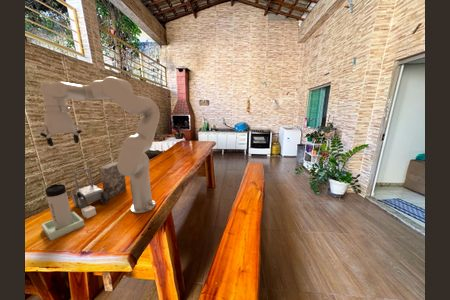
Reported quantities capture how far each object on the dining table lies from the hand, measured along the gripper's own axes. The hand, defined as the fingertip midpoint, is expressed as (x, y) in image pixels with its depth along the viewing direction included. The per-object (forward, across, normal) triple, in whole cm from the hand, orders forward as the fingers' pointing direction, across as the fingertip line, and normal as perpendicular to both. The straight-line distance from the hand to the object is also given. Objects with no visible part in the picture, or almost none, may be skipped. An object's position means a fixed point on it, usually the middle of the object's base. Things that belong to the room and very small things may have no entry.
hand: (64, 144), depth 86 cm
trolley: (+36, -6, +2) cm, 37 cm away
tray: (+36, +10, +15) cm, 41 cm away
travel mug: (+36, +10, +15) cm, 40 cm away
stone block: (+36, -20, -1) cm, 42 cm away
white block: (+36, 0, +13) cm, 39 cm away
